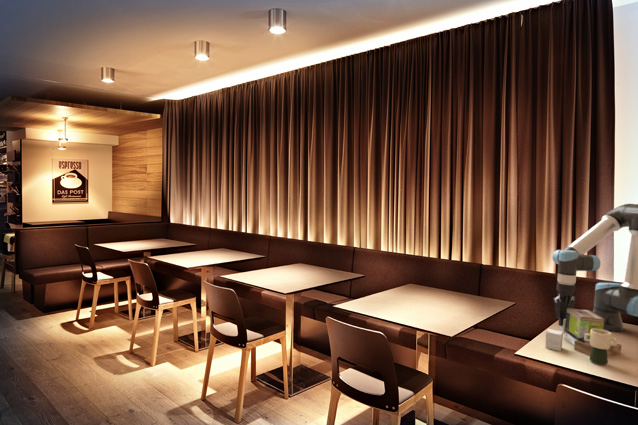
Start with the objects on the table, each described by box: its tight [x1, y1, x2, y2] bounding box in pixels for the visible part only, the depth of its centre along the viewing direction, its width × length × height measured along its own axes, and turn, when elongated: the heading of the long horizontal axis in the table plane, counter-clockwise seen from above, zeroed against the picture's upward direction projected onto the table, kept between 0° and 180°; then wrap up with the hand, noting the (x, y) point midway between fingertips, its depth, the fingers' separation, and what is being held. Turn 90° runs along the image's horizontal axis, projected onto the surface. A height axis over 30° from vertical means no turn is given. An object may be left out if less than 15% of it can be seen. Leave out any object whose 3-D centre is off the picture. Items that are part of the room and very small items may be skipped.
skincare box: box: [544, 328, 564, 352], centre depth 193 cm, size 6×6×7 cm
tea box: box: [564, 308, 604, 346], centre depth 199 cm, size 15×10×15 cm, turn 172°
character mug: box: [584, 329, 618, 365], centre depth 177 cm, size 11×7×13 cm, turn 61°
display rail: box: [573, 340, 623, 357], centre depth 191 cm, size 16×10×4 cm, turn 113°
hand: (562, 332), depth 208 cm, fingers closed
